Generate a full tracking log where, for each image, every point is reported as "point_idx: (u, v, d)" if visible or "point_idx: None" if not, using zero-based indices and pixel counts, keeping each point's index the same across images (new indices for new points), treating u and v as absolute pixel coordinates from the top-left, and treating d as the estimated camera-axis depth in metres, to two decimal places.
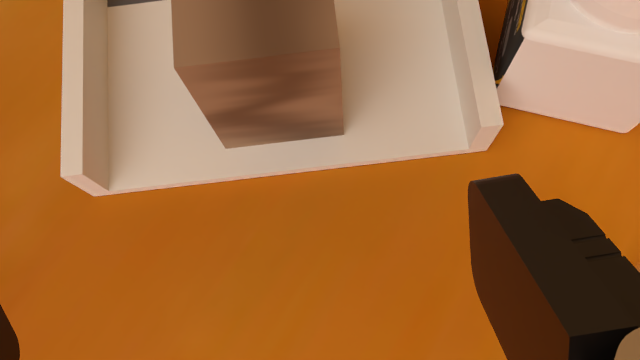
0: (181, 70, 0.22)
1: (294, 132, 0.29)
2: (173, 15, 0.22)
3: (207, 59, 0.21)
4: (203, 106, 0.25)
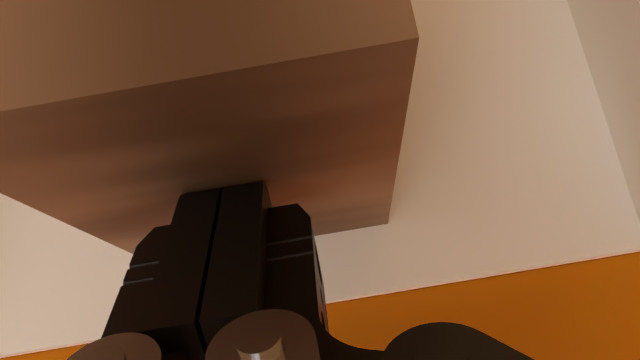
0: None
1: None
2: None
3: None
4: (55, 210, 0.10)
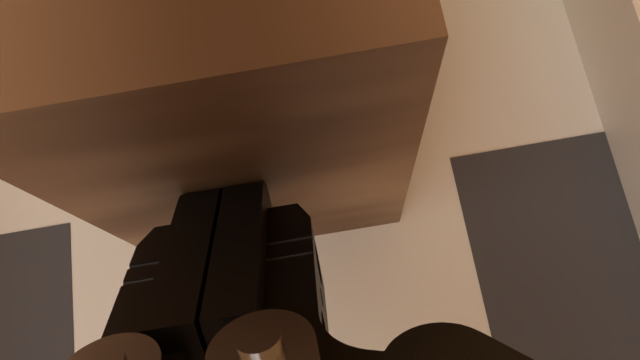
0: None
1: None
2: None
3: (11, 95, 0.06)
4: (74, 207, 0.10)
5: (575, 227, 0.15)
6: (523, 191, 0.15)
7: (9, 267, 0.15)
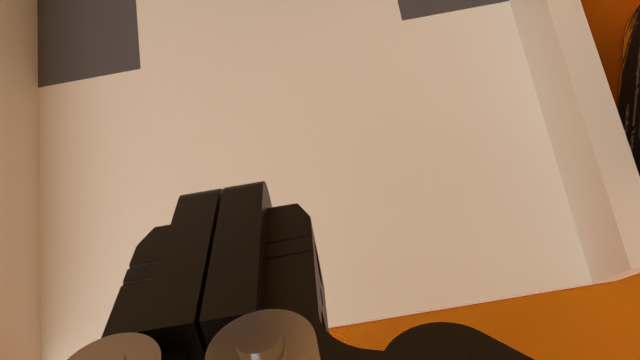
0: None
1: None
2: None
3: None
4: None
5: None
6: None
7: None
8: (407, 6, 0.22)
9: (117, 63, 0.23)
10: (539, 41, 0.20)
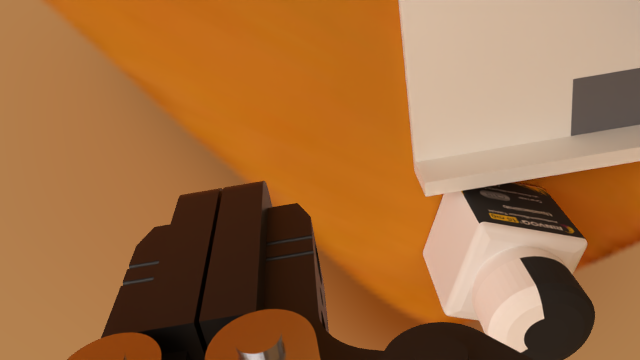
0: None
1: None
2: None
3: None
4: None
5: (627, 107, 0.39)
6: None
7: None
8: (581, 82, 0.38)
9: None
10: (540, 152, 0.38)
